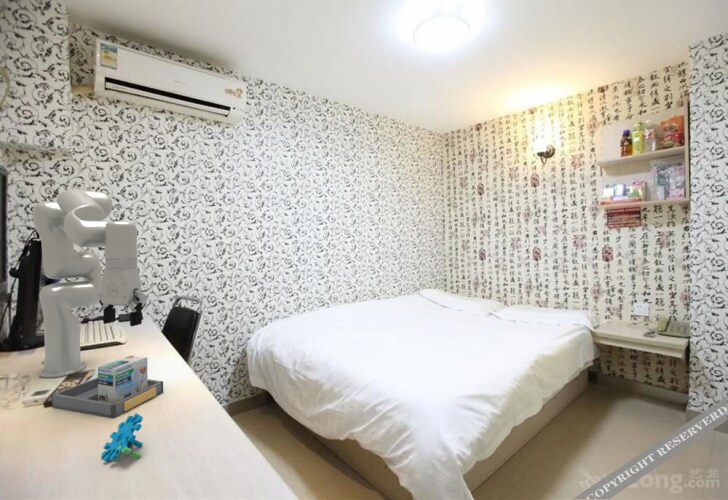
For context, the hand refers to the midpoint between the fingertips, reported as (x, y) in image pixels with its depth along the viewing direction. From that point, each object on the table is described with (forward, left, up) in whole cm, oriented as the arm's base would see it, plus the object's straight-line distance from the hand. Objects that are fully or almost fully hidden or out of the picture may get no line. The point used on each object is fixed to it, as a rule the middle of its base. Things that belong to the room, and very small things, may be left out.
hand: (122, 323), depth 100 cm
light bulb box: (0, 0, -22) cm, 22 cm away
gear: (+23, -19, -23) cm, 38 cm away
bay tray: (-5, 0, -23) cm, 23 cm away
